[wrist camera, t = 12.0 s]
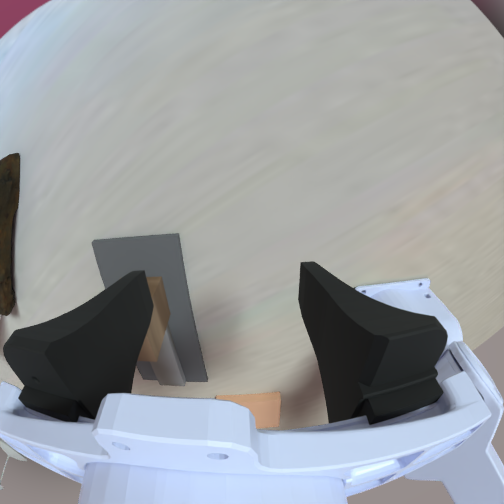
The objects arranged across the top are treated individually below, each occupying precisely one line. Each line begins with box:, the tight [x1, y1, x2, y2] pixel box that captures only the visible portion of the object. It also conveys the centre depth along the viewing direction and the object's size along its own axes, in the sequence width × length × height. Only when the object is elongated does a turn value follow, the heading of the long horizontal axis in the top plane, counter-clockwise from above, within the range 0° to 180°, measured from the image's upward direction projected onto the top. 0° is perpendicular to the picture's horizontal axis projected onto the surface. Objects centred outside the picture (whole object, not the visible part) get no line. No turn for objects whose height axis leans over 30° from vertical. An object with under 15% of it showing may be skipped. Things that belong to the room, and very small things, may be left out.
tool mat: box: [92, 233, 208, 382], centre depth 25 cm, size 8×18×1 cm, turn 2°
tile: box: [216, 392, 281, 428], centre depth 32 cm, size 8×2×8 cm
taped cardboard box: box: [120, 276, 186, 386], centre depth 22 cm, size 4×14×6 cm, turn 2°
